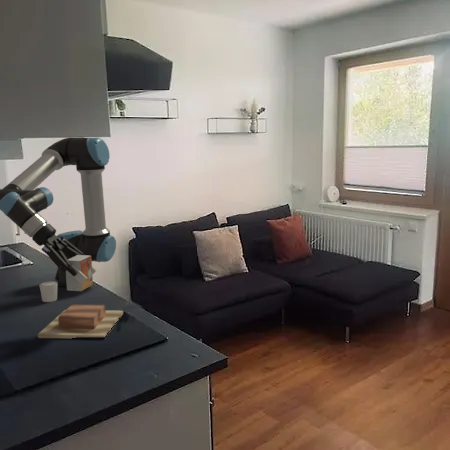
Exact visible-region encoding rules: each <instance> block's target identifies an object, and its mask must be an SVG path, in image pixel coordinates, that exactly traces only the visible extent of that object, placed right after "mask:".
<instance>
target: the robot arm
mask: <svg viewBox="0 0 450 450" xmlns="http://www.w3.org/2000/svg"><path fill="white" fill-rule="evenodd" d="M109 160H110V150H109V146H108V145H107V143H106V142H105V141H104V140H103V138H100V137H95V138H84V137H66V138H63V139H61V140H58V141H56V142H54V143H52V144H51V145H50V146H48V147H47V148H45V149H44V150H43V151H42V152H41V156H40V157H39V158H38V159H36V160H35V161H34V162H33V163H31V165H29V166H28V167H27V168H26V169H24V170H23V171H21V173H20V174H19V175H17V176H16V177H15V178H14V179H13V180H11V181H9V183H8V184H7V185H6V186H4V187H3V188H0V211H1V212H2V213H3V214H4V216H6V217H7V218H8V219H9V220H11V221H12V222H13V224H15V225H16V226H18V227H19V229H21V230H22V231H23V232H24V234H25V235H27V236H28V237H29V238H31V239H32V241H33V242H35V244H36V245H37V246H39V247H40V246H43V247H42V248H41V251H42V252H43V253H45V254H46V255H47V256H48V258H49V259H51V262H53V263H54V265H56V266H57V268H56V272H55V276H54V281H56V282H58V284H57V287H66V288H67V282H66V270H67V271H68V272H69V273H70V274H71V275H72V276H73V277H74V278H75V279H76V280H77V281H79V282H80V283H81V284H82V283H83V282H84V281H85V280H86V279H87V277H86V276H85V275H84V274H83V273H82V272H81V271H80V270H79V269H77V268H76V267H75V266H74V265H72V266H71V264H70V262H69V261H68V259H70V258H72V257H75V256H76V255H89V256H91V258H92V262H97V263H102V262H103V263H106V262H109V261H111V259H112V258H113V257H114V255H115V253H116V249H117V239H116V238H115V237H114V236H113V235H111V230H110V229H108V228H107V225H106V211H105V201H104V185H103V175H102V173H103V172H104V170H105V169H106V168H105V167H106V165H108V163H109V162H110V161H109ZM67 166H76V167H75V169H76V172H78V173H79V174H80V182H81V192H82V193H81V194H82V202H83V203H82V204H83V216H84V226H85V227H84V228H85V229H84V230H81V229H80V230H78V229H77V230H71V231H66V232H62V233H59V234H57V235H56V232H57V229H56V228H54V226H52V224H51V223H48V221H47V220H46V219H45V218H44V217H43V216H42V215H41V214H40V212H42V211H43V210H46V209H47V208H48V207H50V206H51V205H52V204H53V202H54V195H53V192H52V191H51V189H50V188H47V187H46V186H45V187H43V186H40V187H38V186H39V185H41V184H42V183H43V182H44V181H45V180H46V179H47V178H48V177H50V176H51V175H52V174H53V173H54V172H55V171H59V170H61V169H62V168H63V167H67ZM97 270H98V269H96V268H95V267H94V266H93V265H92V276H93V275H94V274H95V273H96V272H97Z"/></svg>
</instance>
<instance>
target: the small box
mask: <svg viewBox="0 0 450 450" xmlns="http://www.w3.org/2000/svg"><path fill="white" fill-rule="evenodd" d="M68 261H69V262H70V264H71V266H72V265H74V266H75V267H76V268H77V269H79V270H80V271H81V272H82V273H83V274H84V275H85V276H86V277H87V279H86V280H85V281H84V282H83V283H82V284H81V283H80V282H79V281H77V280H76V279H75V278H74V277H73V276H72V275H71V274H70V273H69V272H68V271H67V270H66V282H67V287H66V291H70V292H71V291H73V292H83V291H85V290H86V289H87V288H89V287H91V286H93V285H94V281H93V278H94V277H93V275H92V266H93V264H92V263H93V261H92V258H91V256H89V255H76V256H75V257H72V258H70V259H68Z"/></svg>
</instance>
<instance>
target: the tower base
mask: <svg viewBox="0 0 450 450" xmlns="http://www.w3.org/2000/svg"><path fill="white" fill-rule="evenodd" d="M123 314H124V310H115V309H114V310H106V304H71V305H70V306H69V307H68V308H67V309H64V310H63V311H62V312H60V314H58V316H56V317H55V318H54V319H53V320H52V321H51V322H50V323H48V324H47V325H46V326H45V328H43V329H42V330H41V331H40V332H39V333H37V338H38V339H72V338H76V337H105V336H106V335H107V333H108V332H109V331H110V330H111V328H112V327H113V326H114V325H115V326H116V324H117V323H118V322H119V320H120V319H121V318H122V316H123ZM119 318H120V319H119ZM117 321H118V322H117ZM116 322H117V323H116ZM115 323H116V324H115ZM115 326H114V327H115ZM114 327H113V328H114ZM113 328H112V329H113ZM111 331H112V330H111ZM111 331H110V332H111ZM110 332H109V333H110ZM107 336H108V335H107Z"/></svg>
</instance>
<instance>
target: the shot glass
mask: <svg viewBox="0 0 450 450" xmlns="http://www.w3.org/2000/svg"><path fill="white" fill-rule="evenodd" d="M57 284H58V282H56V281H55V280H47V281H43V282H41V283H39V289H40V295H41V301H42V302H44V303H51V302H56V301H57V300H58V285H57Z"/></svg>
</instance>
